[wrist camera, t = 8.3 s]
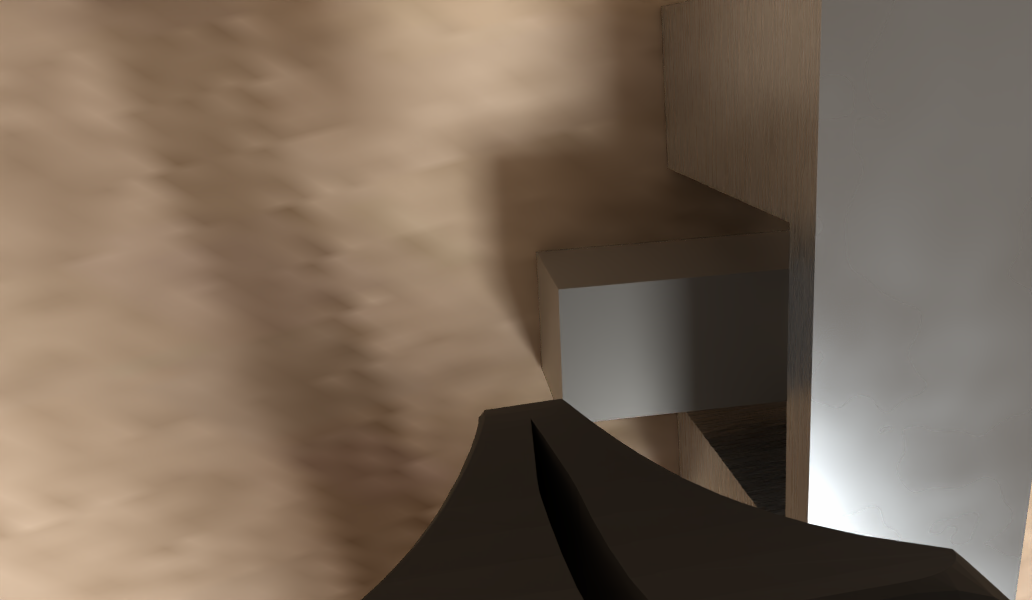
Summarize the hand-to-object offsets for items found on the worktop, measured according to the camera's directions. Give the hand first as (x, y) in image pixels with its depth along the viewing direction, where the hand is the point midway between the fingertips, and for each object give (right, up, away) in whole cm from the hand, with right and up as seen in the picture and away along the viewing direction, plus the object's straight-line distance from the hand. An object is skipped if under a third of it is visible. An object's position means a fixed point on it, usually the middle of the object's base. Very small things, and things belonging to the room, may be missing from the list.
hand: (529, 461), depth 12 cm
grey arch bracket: (+6, +3, +7) cm, 9 cm away
